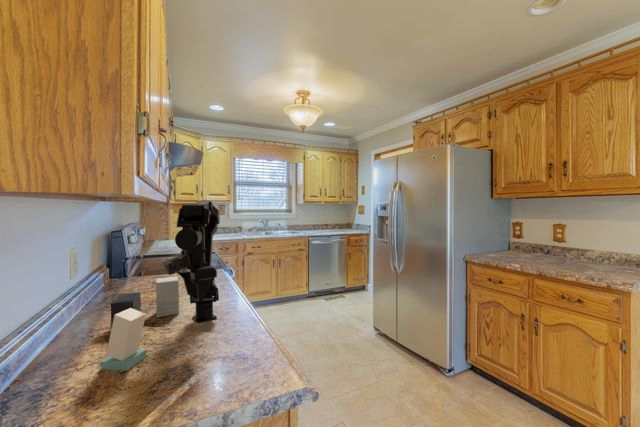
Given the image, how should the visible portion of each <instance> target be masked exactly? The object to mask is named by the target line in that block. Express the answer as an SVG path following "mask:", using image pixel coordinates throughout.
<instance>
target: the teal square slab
mask: <svg viewBox="0 0 640 427" xmlns="http://www.w3.org/2000/svg"><path fill="white" fill-rule="evenodd" d="M146 358H147V349H145V348H138V352H136V353H135V354H133V355H131V356H130V357H128V358H127V359H125V360H124V361H121V360H118V359H116V358H113V357H111V356H109V355H108V357H106V358H104V359H102V360H100V370H109V371H120V372H121V371H125V372H127V371H129V370H130V369H131V368H133V367H134V366H136V365H137V364H138V363H140V362H141V361H143V360H144V359H146Z"/></svg>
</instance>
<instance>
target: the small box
mask: <svg viewBox="0 0 640 427" xmlns="http://www.w3.org/2000/svg"><path fill="white" fill-rule="evenodd" d="M141 306H142V305H141V291H138V292H137V291H136V292H129V293H128V292H127V293H119V295H118V296H116V298H115V299H113V300H112V302H110V326H111V327H110V328H111V329H110V331H111V330H112V325H113V320H114V315H115V314H117V313H120V312H122V311H124V310H127V309H129V308H132V309H135V310H137V311H140V312H142V310H141Z"/></svg>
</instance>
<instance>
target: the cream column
mask: <svg viewBox="0 0 640 427" xmlns="http://www.w3.org/2000/svg"><path fill="white" fill-rule="evenodd" d="M146 315H147V314H146V313H145V312H142V311H141V312H140V311H137V310H135V309H132V308H129V309H127V310H124V311H122V312H120V313H117V314H115V315H114V320H113V325H112V330H111V329H110V335H109V340H108V344H107V350H106V354H105V355H106V356H108V357H109V356H111V357H113V358H116V359H118V360H121V361H124V360H125V359H127V358H128V357H130V356H131V355H133V354H135V353H136V352H138V349H140V348H139V347H140V343H141V338H142V333H143V329H144V324H145V320H146V317H147V316H146Z"/></svg>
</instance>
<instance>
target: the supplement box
mask: <svg viewBox="0 0 640 427" xmlns="http://www.w3.org/2000/svg"><path fill="white" fill-rule="evenodd" d="M155 281H156V282H155V292H156V293H155V297H156V298H155V299H156V317H157V318H161V317H169V316H174V315H179V314H180V299H179V298H180V296H179V295H180V294H179V292H180V291H179V289H180V288H179V287H180V286H179V279H178V276H171V277H163V278H162V277H160V278H156V280H155Z"/></svg>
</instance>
